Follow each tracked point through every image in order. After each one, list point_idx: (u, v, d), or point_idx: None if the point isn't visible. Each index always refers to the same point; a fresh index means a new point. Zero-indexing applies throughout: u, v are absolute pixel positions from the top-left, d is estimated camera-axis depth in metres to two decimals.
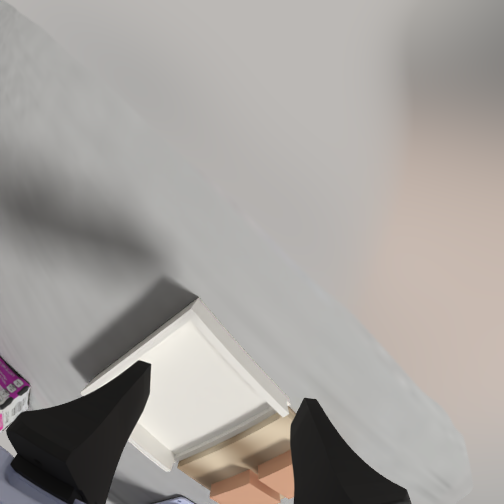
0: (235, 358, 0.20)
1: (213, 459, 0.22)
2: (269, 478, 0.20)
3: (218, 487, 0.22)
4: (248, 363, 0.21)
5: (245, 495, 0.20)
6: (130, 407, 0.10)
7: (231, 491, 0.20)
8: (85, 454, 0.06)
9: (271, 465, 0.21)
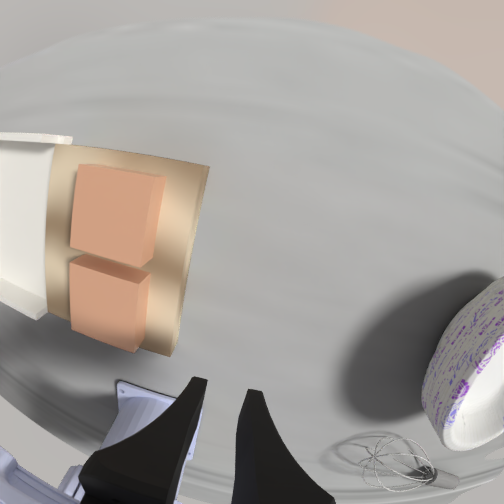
0: None
1: (52, 266, 0.18)
2: (77, 234, 0.15)
3: None
4: None
5: (88, 294, 0.16)
6: (193, 426, 0.10)
7: (71, 295, 0.16)
8: (172, 486, 0.06)
9: None
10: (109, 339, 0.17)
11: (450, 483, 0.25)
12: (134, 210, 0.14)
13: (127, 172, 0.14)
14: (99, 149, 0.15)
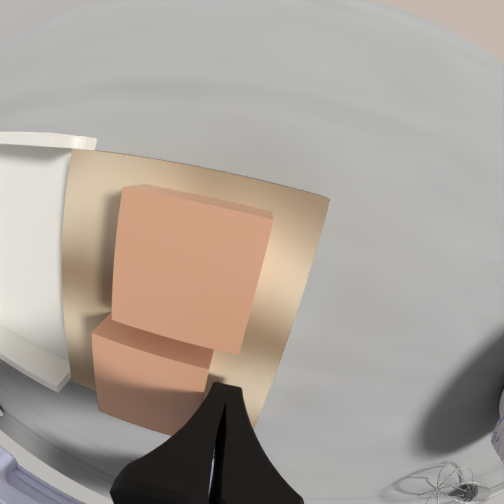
0: None
1: (76, 329, 0.13)
2: (123, 302, 0.10)
3: None
4: None
5: (124, 376, 0.11)
6: None
7: (97, 374, 0.11)
8: None
9: None
10: (158, 426, 0.11)
11: (484, 496, 0.19)
12: (234, 272, 0.09)
13: (221, 208, 0.09)
14: (151, 160, 0.10)
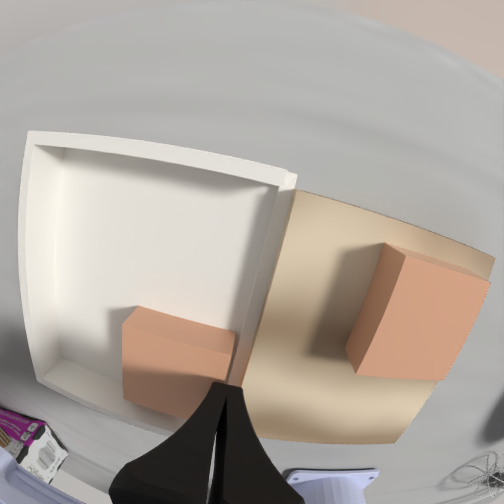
0: (109, 137, 0.09)
1: (260, 383, 0.13)
2: (375, 357, 0.10)
3: None
4: None
5: (152, 364, 0.12)
6: None
7: (124, 363, 0.12)
8: None
9: (362, 328, 0.11)
10: (180, 411, 0.13)
11: None
12: (463, 321, 0.10)
13: (468, 275, 0.09)
14: (392, 220, 0.11)
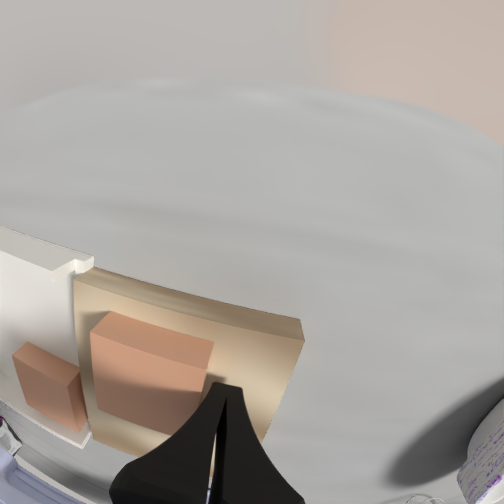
0: None
1: (96, 409, 0.14)
2: (105, 401, 0.11)
3: None
4: (6, 239, 0.12)
5: (32, 383, 0.14)
6: (216, 431, 0.10)
7: (19, 380, 0.14)
8: None
9: None
10: (57, 418, 0.14)
11: None
12: (180, 397, 0.11)
13: (165, 358, 0.10)
14: (147, 305, 0.12)
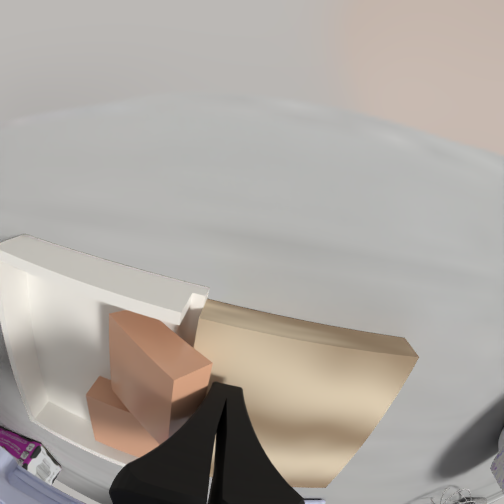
0: (49, 269, 0.11)
1: None
2: (115, 383, 0.13)
3: None
4: (88, 268, 0.12)
5: (111, 422, 0.14)
6: (216, 431, 0.10)
7: (92, 418, 0.14)
8: None
9: None
10: (137, 453, 0.14)
11: None
12: (158, 401, 0.10)
13: (148, 355, 0.10)
14: (291, 340, 0.12)
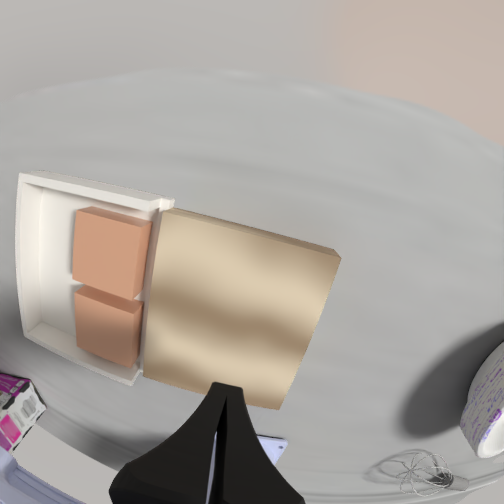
0: (63, 181, 0.15)
1: (156, 337, 0.19)
2: (78, 269, 0.17)
3: None
4: (90, 183, 0.17)
5: (91, 319, 0.18)
6: None
7: (76, 319, 0.19)
8: None
9: None
10: (110, 356, 0.19)
11: (462, 486, 0.27)
12: (125, 254, 0.17)
13: (118, 221, 0.17)
14: (228, 229, 0.17)
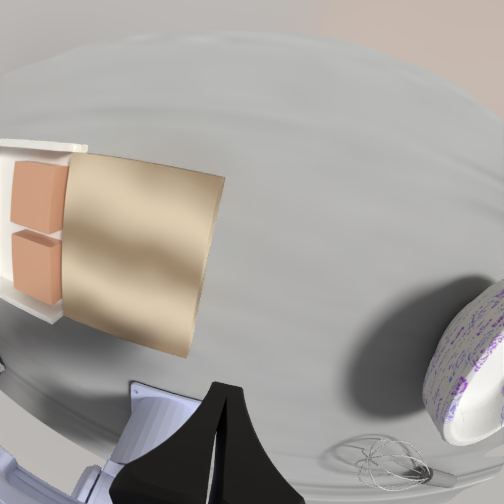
0: (7, 139, 0.15)
1: (69, 271, 0.19)
2: (14, 212, 0.17)
3: None
4: None
5: (22, 257, 0.18)
6: None
7: (13, 259, 0.18)
8: None
9: None
10: (36, 294, 0.19)
11: (446, 482, 0.26)
12: (44, 191, 0.17)
13: (41, 165, 0.16)
14: (118, 159, 0.17)
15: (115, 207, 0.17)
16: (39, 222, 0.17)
